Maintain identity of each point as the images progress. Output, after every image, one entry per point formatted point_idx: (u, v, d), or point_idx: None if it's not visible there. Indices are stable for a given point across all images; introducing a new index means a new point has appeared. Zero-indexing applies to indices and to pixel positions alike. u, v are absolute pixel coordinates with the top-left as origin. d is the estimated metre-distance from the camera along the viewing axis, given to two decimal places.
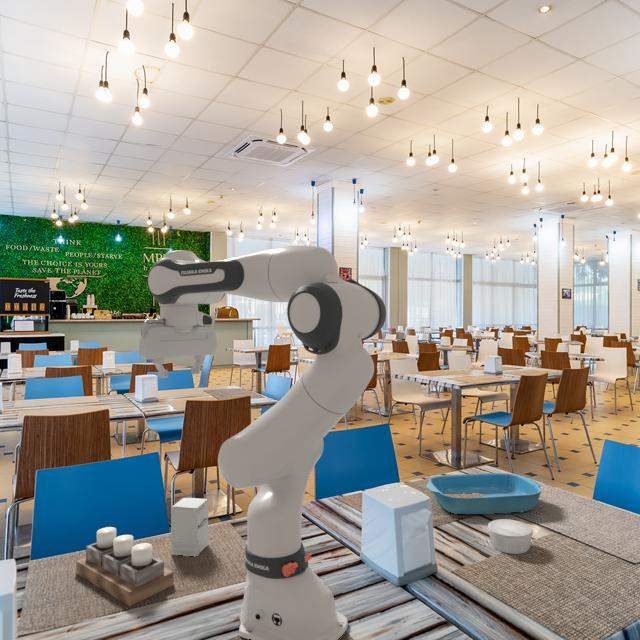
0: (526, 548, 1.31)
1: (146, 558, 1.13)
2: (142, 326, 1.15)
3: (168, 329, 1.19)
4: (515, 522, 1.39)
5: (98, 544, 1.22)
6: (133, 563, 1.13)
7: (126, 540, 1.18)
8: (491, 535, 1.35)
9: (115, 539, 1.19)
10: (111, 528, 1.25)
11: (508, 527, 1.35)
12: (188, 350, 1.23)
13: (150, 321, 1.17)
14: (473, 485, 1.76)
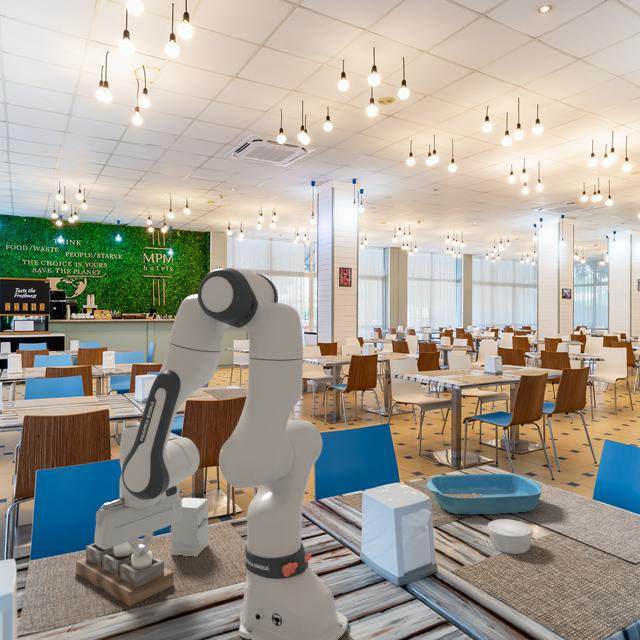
0: (526, 548, 1.31)
1: (146, 565, 1.13)
2: (97, 514, 1.07)
3: (127, 511, 1.10)
4: (515, 522, 1.39)
5: None
6: None
7: None
8: (491, 535, 1.35)
9: None
10: None
11: (508, 528, 1.35)
12: (149, 527, 1.15)
13: (107, 506, 1.08)
14: (474, 485, 1.76)
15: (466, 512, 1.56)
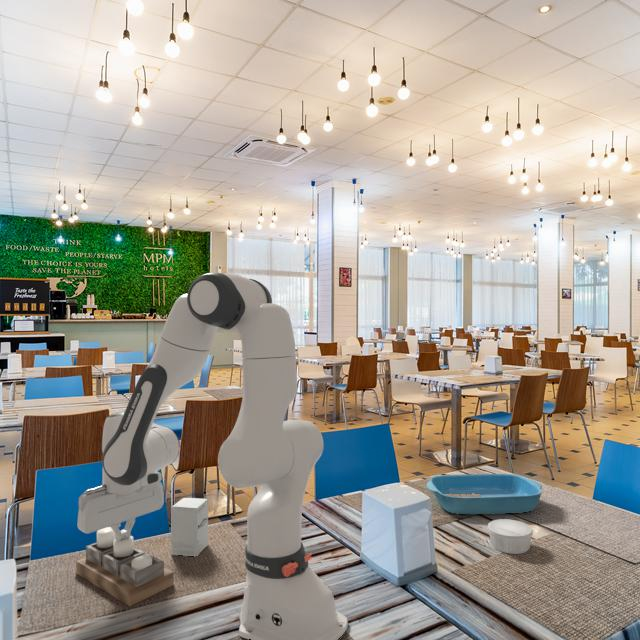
0: (526, 548, 1.31)
1: None
2: (80, 499, 1.11)
3: (109, 497, 1.15)
4: (515, 522, 1.39)
5: (98, 544, 1.22)
6: None
7: (126, 541, 1.18)
8: (491, 535, 1.35)
9: (115, 540, 1.19)
10: (111, 528, 1.25)
11: (508, 528, 1.35)
12: (131, 513, 1.19)
13: (89, 492, 1.13)
14: (475, 485, 1.76)
15: (465, 512, 1.56)
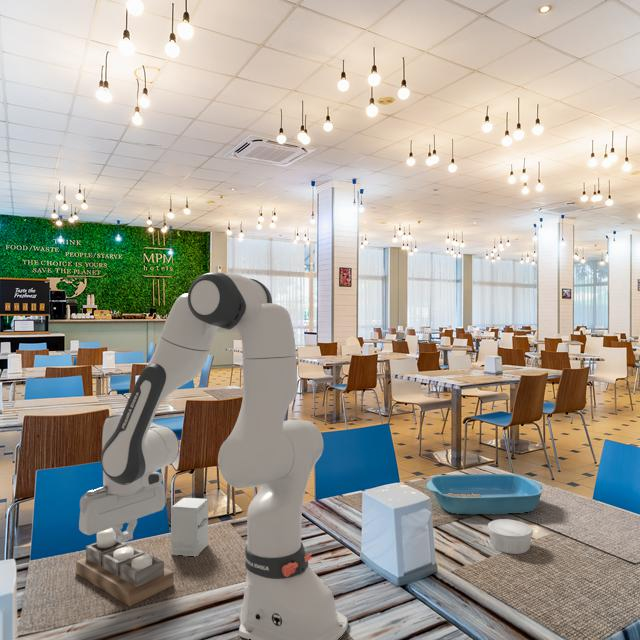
0: (526, 548, 1.31)
1: None
2: (81, 501, 1.11)
3: (110, 498, 1.15)
4: (515, 522, 1.39)
5: (98, 544, 1.22)
6: None
7: (126, 553, 1.18)
8: (491, 535, 1.35)
9: (115, 552, 1.19)
10: (111, 528, 1.25)
11: (508, 527, 1.35)
12: (133, 514, 1.19)
13: (90, 494, 1.13)
14: (475, 485, 1.76)
15: (465, 512, 1.56)
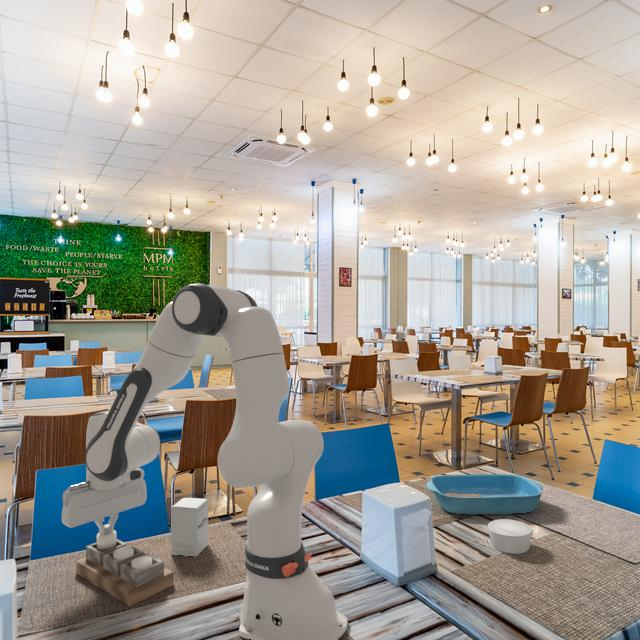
0: (526, 548, 1.31)
1: None
2: (64, 495, 1.16)
3: (92, 492, 1.20)
4: (515, 522, 1.39)
5: (98, 547, 1.22)
6: None
7: (126, 553, 1.18)
8: (491, 535, 1.35)
9: (115, 552, 1.19)
10: None
11: (508, 527, 1.35)
12: (114, 508, 1.24)
13: (73, 488, 1.17)
14: (476, 485, 1.75)
15: (464, 512, 1.56)
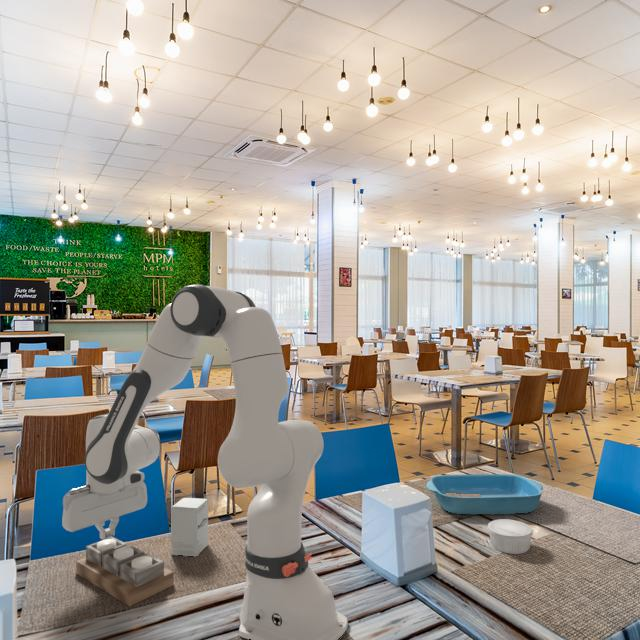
0: (526, 548, 1.31)
1: None
2: (64, 499, 1.16)
3: (93, 496, 1.20)
4: (515, 522, 1.39)
5: None
6: None
7: (126, 553, 1.18)
8: (491, 535, 1.35)
9: (115, 552, 1.19)
10: (111, 540, 1.25)
11: (508, 528, 1.35)
12: (115, 512, 1.24)
13: (73, 492, 1.17)
14: (476, 485, 1.75)
15: (464, 512, 1.56)
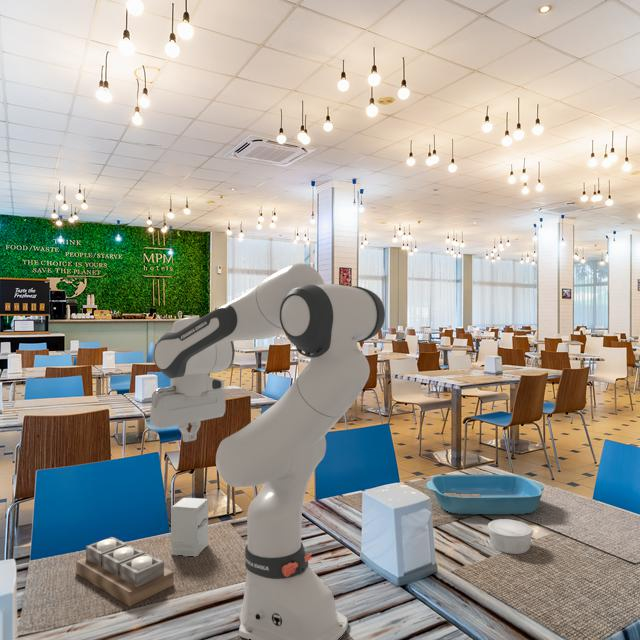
0: (526, 548, 1.31)
1: None
2: (153, 396, 1.17)
3: (179, 396, 1.20)
4: (515, 522, 1.39)
5: None
6: None
7: (126, 553, 1.18)
8: (491, 535, 1.35)
9: (115, 552, 1.19)
10: (111, 540, 1.25)
11: (508, 528, 1.35)
12: (198, 416, 1.25)
13: (161, 390, 1.18)
14: (477, 486, 1.75)
15: (463, 512, 1.57)
